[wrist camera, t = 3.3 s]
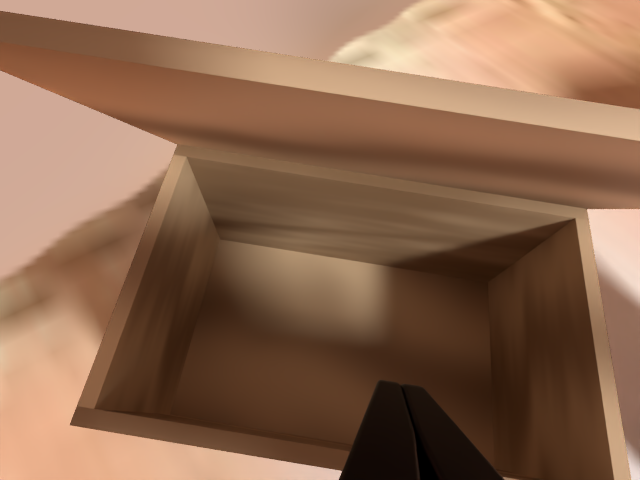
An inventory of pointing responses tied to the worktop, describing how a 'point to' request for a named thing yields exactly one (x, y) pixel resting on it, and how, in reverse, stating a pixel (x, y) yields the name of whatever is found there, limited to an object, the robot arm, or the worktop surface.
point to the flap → (337, 113)
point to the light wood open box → (357, 319)
